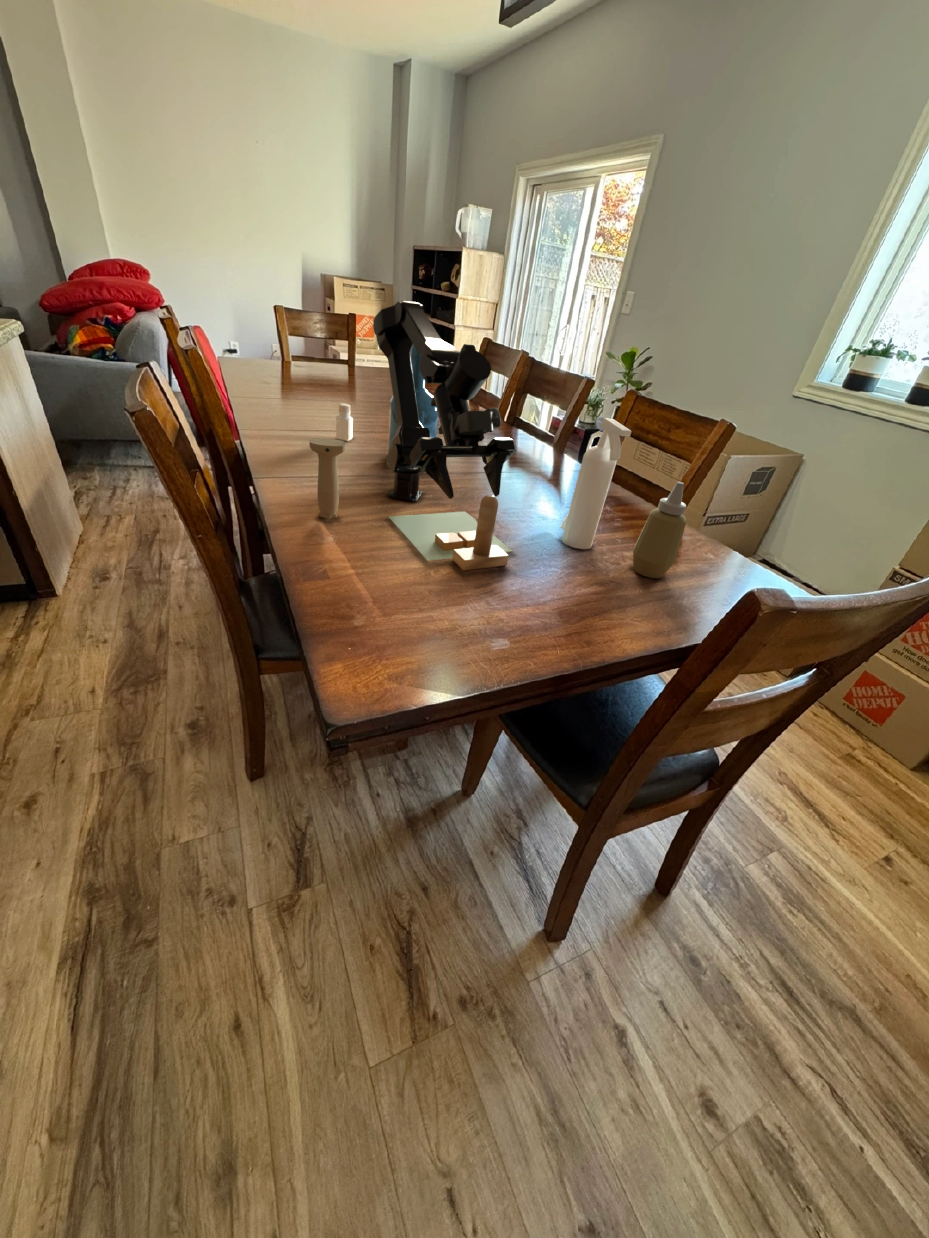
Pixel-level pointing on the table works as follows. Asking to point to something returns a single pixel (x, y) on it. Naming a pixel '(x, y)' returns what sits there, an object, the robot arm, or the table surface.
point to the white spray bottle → (593, 485)
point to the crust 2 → (467, 538)
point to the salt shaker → (344, 423)
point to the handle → (327, 474)
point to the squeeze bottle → (661, 536)
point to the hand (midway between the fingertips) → (475, 496)
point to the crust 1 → (448, 541)
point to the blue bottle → (423, 398)
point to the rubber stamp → (482, 541)
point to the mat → (436, 531)
